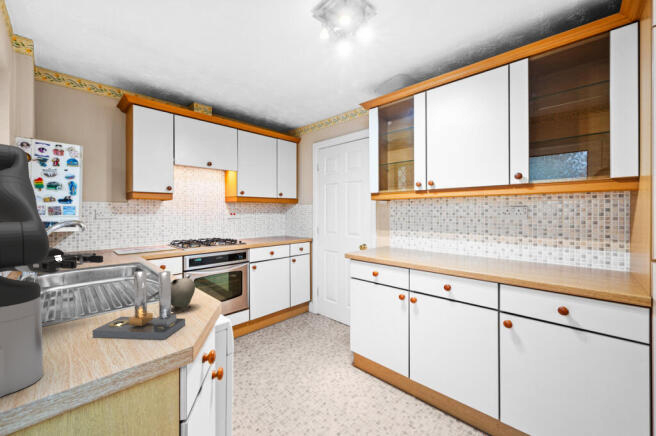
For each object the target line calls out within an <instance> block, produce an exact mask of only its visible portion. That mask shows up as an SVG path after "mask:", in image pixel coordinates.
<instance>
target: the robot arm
mask: <svg viewBox="0 0 656 436" xmlns="http://www.w3.org/2000/svg"><path fill="white" fill-rule="evenodd" d="M29 168H30V167H29V158H28V155H27V152H25V150H24V149H23V148H22V147H18V146H16V145H11V144H10V145H9V144H3V143H0V273H4V272H25V273H31V274H35V273H37V274H55V273H57V272H59V271H60V270H62V269H64V270H65V269H66V270H75V269H76V268H77V266H83V265H84V264H92V263H95V264H100V263H103V262H104V256H103V255H97V253H95V252H91V253H89V252H88V253H85V252H77V253H65V252H64V251H63V250H62V249H60V248H57V247H50V240H49V239H50V238H49V235H48V232H47V230H46V227H45V225H44V222H43V220H42V218H41V216H40V213H39V210H38V206H37V205H38V203H37V198H36V197H37V196H36V194H35V193H36V192H35V190H34V188H33V184H32V181H31V177H30V169H29ZM41 290H42V289H41V285H40V284H39V283H37V282H36V281H31V280H21V279H20V280H19V279H13V278H9V277H6V276H2V275H0V398H1V397H4V396H6V395H9V394H12V393H15V392H18V391H20V390H23V389H25V388H27V387H29V386H31V385H33V384H35V383H36V382H38V381H39V380H41V378H42V377H43V376H44V362H43V361H44V360H43V359H44V358H43V357H44V355H43V354H44V353H43V329H42V327H43V325H42V321H43V320H42V295H41V294H42V291H41Z"/></svg>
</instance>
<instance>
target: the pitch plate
mask: <svg viewBox="0 0 656 436" xmlns="http://www.w3.org/2000/svg"><path fill="white" fill-rule="evenodd" d="M171 278H172V277H171V271H168V270H166V271H159V272H158V291H159V294H158V299H159V302H158V304H159V305H158V314H159V315H158V316H157V317H153V320H151V321H150V322H148V323H146V324H144V325H143V326H134V325H129V318H131V317H132V316H120V317H118V318H115V319H113V320H111V321H109V322H108V323H105V324H103V325H101V326H99V327H96V328H94V329H92V338H101V339H102V338H104V339H126V340H127V339H129V340H131V339H132V340H133V339H134V340H157V341H159V340H160V341H165V340H166V339H167V338H169V337H170V336H172V335H173V334H175V333H176V332H178V331H179V330H181V329H182V328H183V327H185V326H186V318H178V317H177V314H175V313H171V309H172V305H171V282H172V280H171Z"/></svg>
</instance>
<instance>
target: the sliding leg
mask: <svg viewBox="0 0 656 436" xmlns="http://www.w3.org/2000/svg"><path fill="white" fill-rule="evenodd" d="M147 286H148V285H147V270H138V271H134V272H133V295H134V297H133V298H134V315H132V316H130V317H131V318H129V325H134V326H143V325H144V324H146V323H148V322H150V321H151V320H153V318H154V317H153V316H154V313H153V312H152V313H151V312H148V305H147V304H148V300H147V298H148V295H147V294H148V293H147V292H148V291H147Z"/></svg>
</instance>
